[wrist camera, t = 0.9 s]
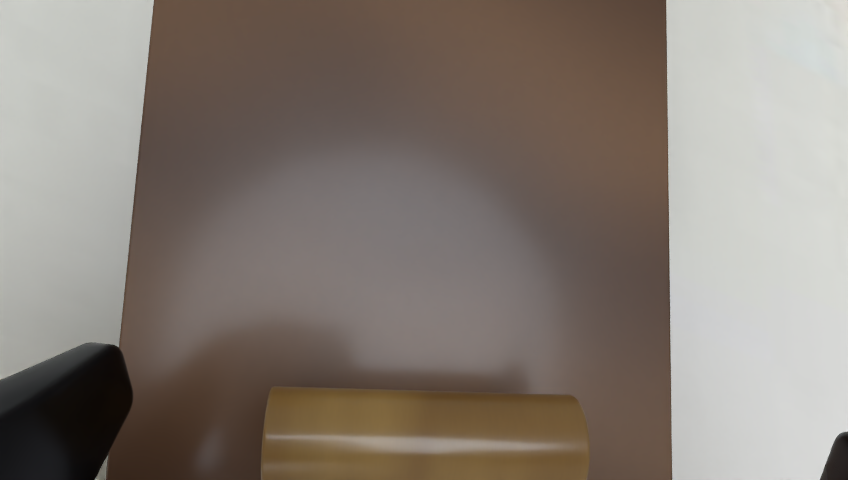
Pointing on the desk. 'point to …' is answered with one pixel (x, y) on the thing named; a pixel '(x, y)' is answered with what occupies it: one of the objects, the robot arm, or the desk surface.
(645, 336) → the lid
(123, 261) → the desk surface
